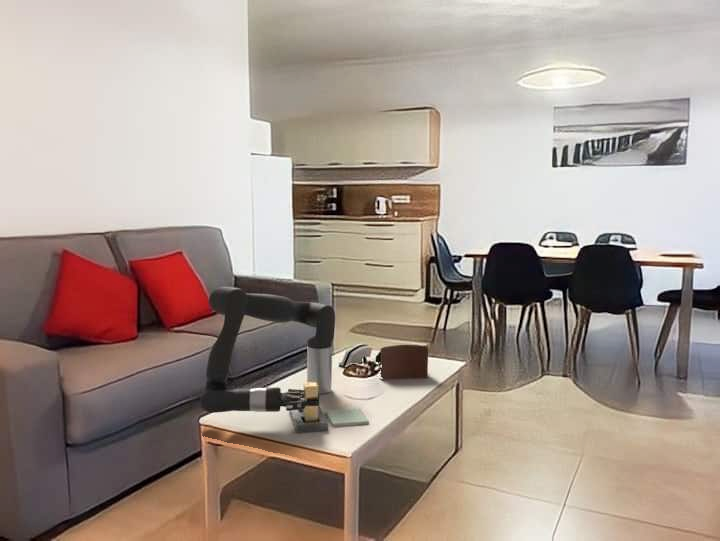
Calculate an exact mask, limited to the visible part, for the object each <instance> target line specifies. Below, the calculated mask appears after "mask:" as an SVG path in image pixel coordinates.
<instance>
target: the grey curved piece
mask: <svg viewBox="0 0 720 541" xmlns="http://www.w3.org/2000/svg"><path fill="white" fill-rule="evenodd" d="M372 352H373V347H372V346H370V345H369V344H367V343H364V342H363V343H358V344H354V345H352V347H349V348H348V349H347V350H346V351H345V354H344V356H343V358H342V361H340V362H339V363H338V365H339V366H338V367H345V366H346V365H348V364H350V363H361V362H362V358H363V356H366V357H370V358H371V354H372ZM361 364H362V363H361ZM340 365H342V366H340Z"/></svg>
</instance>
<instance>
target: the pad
mask: <svg viewBox="0 0 720 541" xmlns="http://www.w3.org/2000/svg"><path fill="white" fill-rule="evenodd" d="M362 410H363V409H361V407H360V408H358V407H356V408H345V409H344V408H343V409H329V410H327V409H326V410H325V415H326V418H328V419H327V420H328V421H329V423H330V425H331V426H332V427H333V428H334V427H346V426H347V425H349V426H359V425H358V424H363V425H369V424H370V422H369V418H368V417H367V416H366V414H364V412H363V411H362ZM347 427H348V426H347Z"/></svg>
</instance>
